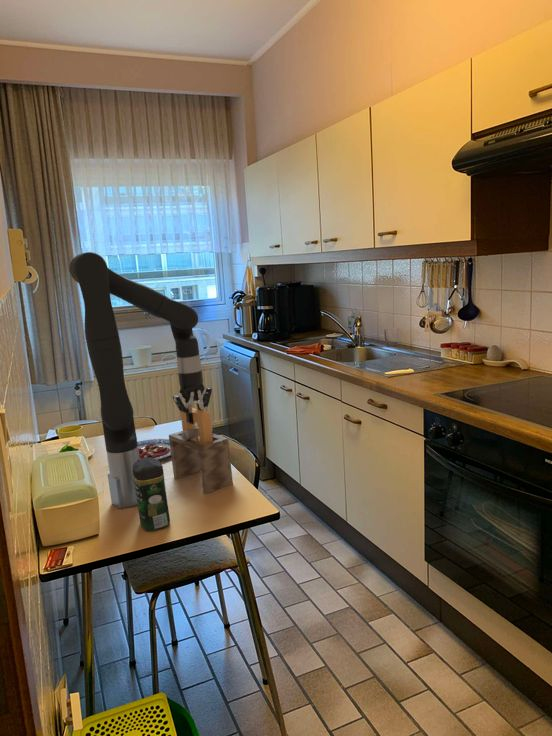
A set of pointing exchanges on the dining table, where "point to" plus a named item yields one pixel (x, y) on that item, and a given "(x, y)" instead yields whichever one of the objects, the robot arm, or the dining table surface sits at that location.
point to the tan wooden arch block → (199, 425)
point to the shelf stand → (201, 458)
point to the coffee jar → (151, 493)
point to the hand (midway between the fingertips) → (195, 422)
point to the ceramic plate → (154, 448)
